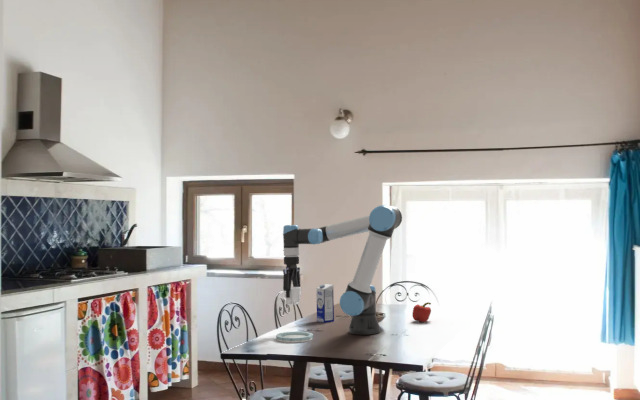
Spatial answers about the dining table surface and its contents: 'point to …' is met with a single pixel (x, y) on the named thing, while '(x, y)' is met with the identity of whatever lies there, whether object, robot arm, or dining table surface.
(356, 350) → the dining table surface
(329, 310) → the milk carton
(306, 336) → the saucer
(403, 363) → the dining table surface
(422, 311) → the vegetable
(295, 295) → the cup
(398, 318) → the dining table surface
